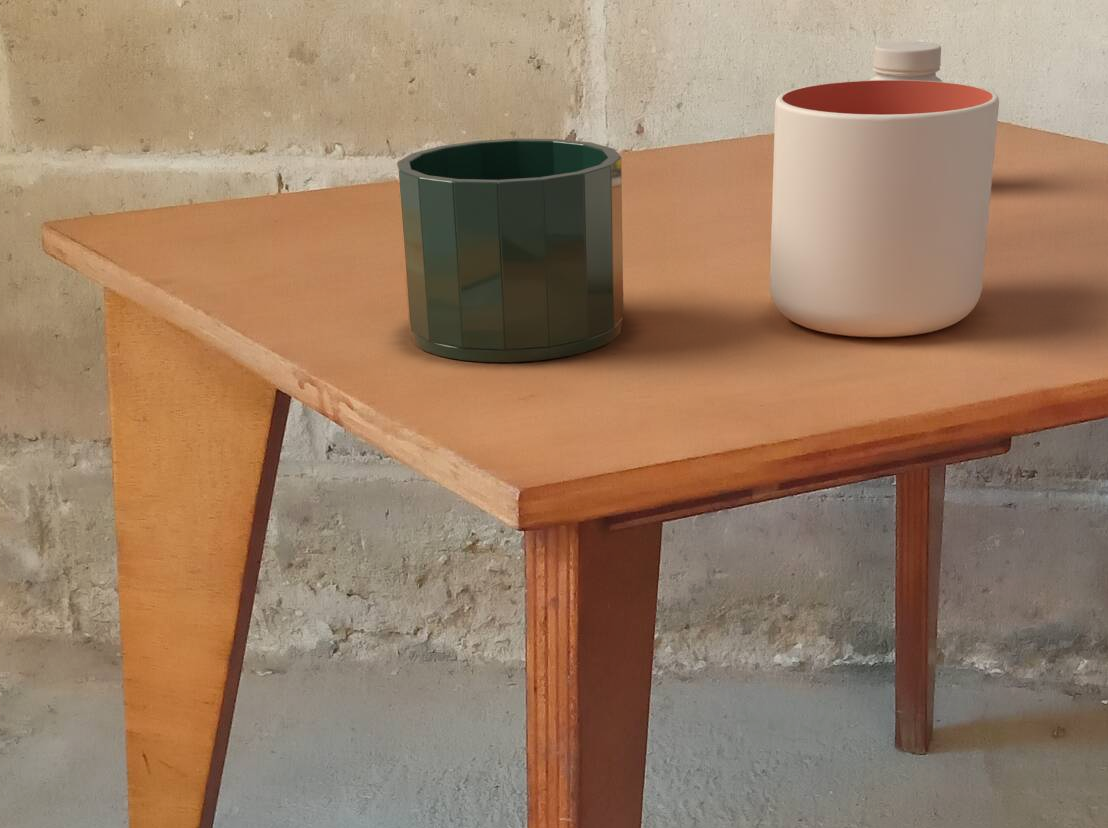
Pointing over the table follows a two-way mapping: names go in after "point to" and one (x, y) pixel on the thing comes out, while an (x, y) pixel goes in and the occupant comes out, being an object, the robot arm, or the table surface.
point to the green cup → (512, 248)
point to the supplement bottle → (907, 61)
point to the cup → (881, 204)
